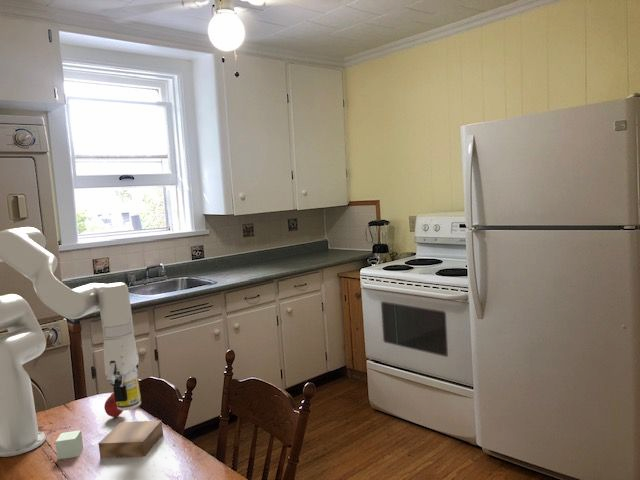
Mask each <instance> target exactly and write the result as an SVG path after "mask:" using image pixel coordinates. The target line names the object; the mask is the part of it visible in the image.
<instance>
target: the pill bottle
mask: <svg viewBox="0 0 640 480" xmlns="http://www.w3.org/2000/svg"><path fill="white" fill-rule="evenodd" d="M133 370H134V368H133V365H132V366H131V367H130V368H129V372H128V373H126V374H125V375H124V386H126V391H127V399H128V400H127V401H122V402H116V404H117V408H118V409H119V410H123V411H130V410H133V409H135V408H138V407H140V405H141V404H142V397H141V391H140V389H139V388H140V382H138V381H139V374H138V375H137V373H136V372H133ZM119 374H120V372H118V373H116V375H119ZM116 379H118V380H119V381H120V377H116Z"/></svg>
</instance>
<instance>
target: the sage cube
mask: <svg viewBox="0 0 640 480" xmlns="http://www.w3.org/2000/svg"><path fill="white" fill-rule="evenodd" d="M54 444H55V451H56V452H55V453H56V457H57V460H63V459H64V460H65V459H69V458H71V459H72V458H76V457H79V455H80V454H81V452H82V450H83V449H84V444H83V435H82V429H79V430H73V431H72V430H71V431H65V432H61V433H60V434H59V436H58V437H57V439H56V440H55V441H54Z"/></svg>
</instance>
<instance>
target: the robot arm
mask: <svg viewBox="0 0 640 480" xmlns="http://www.w3.org/2000/svg"><path fill="white" fill-rule="evenodd" d="M46 246H47V239H46V237H45V235H44V234H43V233H42V232H41V231H40V230H39V229H37V228H35V227H31V226H24V227H15V228H8V229H4V230H1V231H0V263H2V262H3V263H6V264H7V265H8V266H10V267H11V268H12V269H14V270H16V271H17V272H18V273H20V274H22V275H23V276H24V277H26V278H27V279H29V280H30V281H31V282H32V285H33V289H34V291H35V293H36V295H37V297H38V299H39V301H41V302H42V304H44V305H45V306H46V307H47V308H49V309H50V310H52V312H55V313H57V314H58V315H59V316H61V317H64V318H65V319H71V320H77V319H80V318H83V317H85V316H88V315H89V314H92V313H95V312H98V311H99V313H100V320H101V326H102V333H103V339H104V340H103V364H104V372H105V376H106V380H107V382H109V385H111V388H112V389H113V390H112V391H113V392H114V397H115V401H116V402H122V401H127V400H128V399H127V391H126V386H124V375H125V374H126V373H128V372H129V368H130V367H131V366H132V365H133V368H134V370H133V372H136V373H137V375H138V376H139V371H138V369H139V361H140V358H139V353H138V347H137V342H136V337H135V329H134V322H133V314H132V305H131V299H130V293H129V292H130V291H129V287H128V285H127V283H125V282H112V283H98V282H91V283H87V284H84V285H81V286H77V287H75V288H71V287H69V286H67V285H66V284H64V283H63V282H62V281H60V280H59V279H58V278H57V277H56V276H55V275H54V273H55V271H56V269H57V267H58V263H59V261H58V258H57V256H55V254H53V253H51V252H50V251H48V250H47V249H46ZM5 330H7V332H8V333H5V334H3V335H1V336H0V457H3V458H5V457H15V456H18V455H23V454H25V453H28V452H30V451H33V450H34V449H36V448H38V447H39V446H41V445H43V443H45V441H46V434H45V432H43V431H39V427H38V421H37V413H36V407H35V400H34V399H35V398H34V393H33V387H32V380H31V377H30V375H29V374H28V372H27V371H26V370H25V369H24V366H23V365H25V364H26V363H29V362H31V361H32V360H34V359H36V358H38V357H39V356H41V355H42V354H43V352H45V349H46V347H47V339H46V336H45V333H44V331H43V330H42V327H41V325H40V323H39V322H38V319H37V317H36V316H35V313H34V311H33V309H32V308H31V306H30V304H29V303H28V301H27V300H26V299H25V298H23V296H20V295H18V294H17V293H16V294H15V293H8V294H3V295H0V332H2V331H3V332H4V331H5ZM118 372H120V374H119V375H116V373H118ZM116 377H120V381H119V380H118V379H116ZM139 381H140V380H138V382H139ZM139 383H140V382H139ZM139 389H140V387H139Z"/></svg>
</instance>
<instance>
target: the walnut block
mask: <svg viewBox="0 0 640 480" xmlns="http://www.w3.org/2000/svg"><path fill="white" fill-rule="evenodd" d="M162 422H163V421H162V419H161V420H144V421H141V420H139V421H138V420H137V421H120V422H119V423H118V424H117V425H116V426H115V427H114V428H113V429H112V430H111V431H109V433H108V434H106V436H104V437H103V438H102V439H101V440H100V441H99V442H98V444H97V445H98V450H99V451H98V452H99V458H100V459H103V458H104V459H106V458H107V459H109V458H114V459H115V458H139V457H140V458H142V457H143V458H144V457H146V456H147V454H148V453H149V452H150V451H151V450H152V448H153V447H154V446H155V445H156V443H158V442H159V440H160V439H161V437H162V436H164V430H163V423H162Z"/></svg>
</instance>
